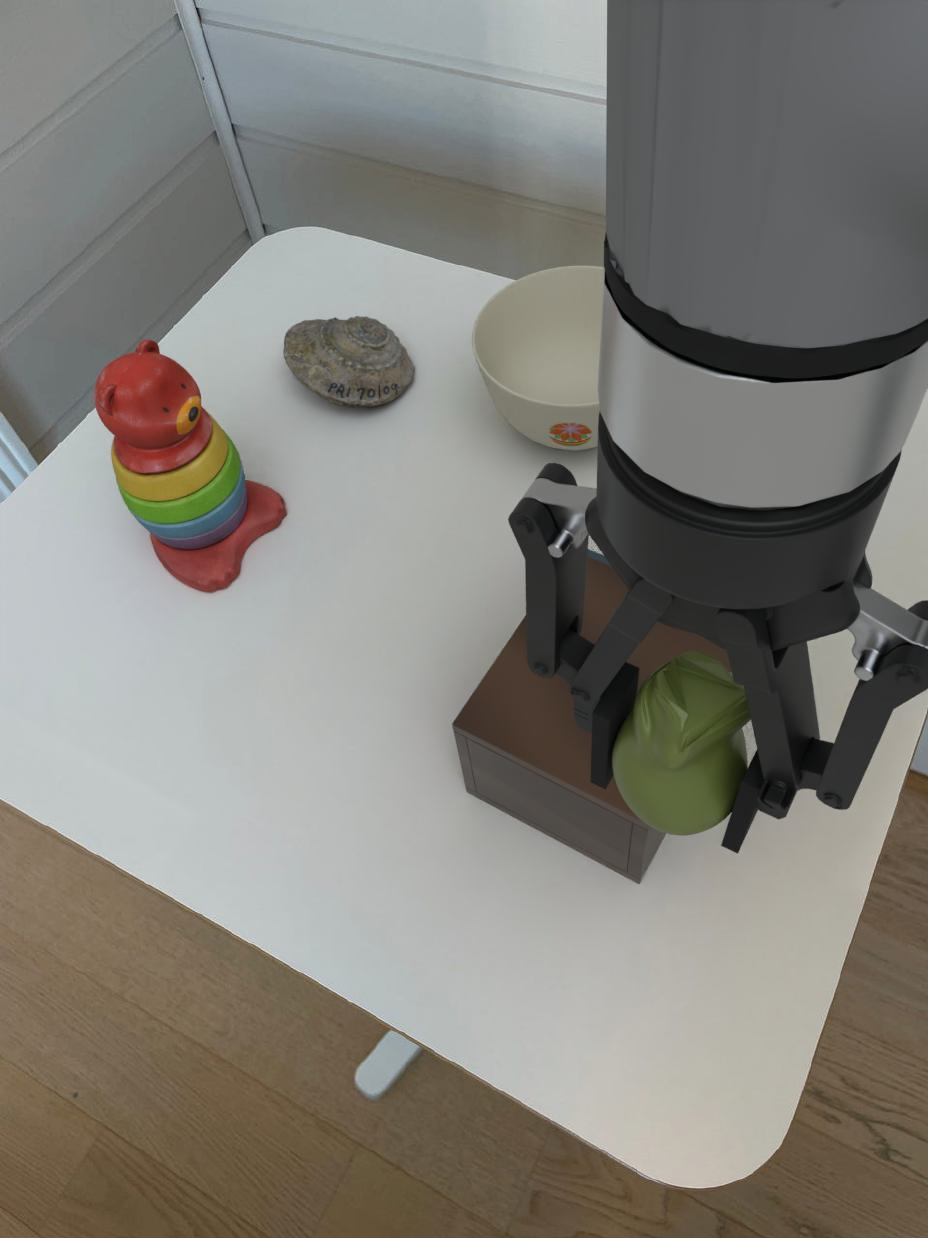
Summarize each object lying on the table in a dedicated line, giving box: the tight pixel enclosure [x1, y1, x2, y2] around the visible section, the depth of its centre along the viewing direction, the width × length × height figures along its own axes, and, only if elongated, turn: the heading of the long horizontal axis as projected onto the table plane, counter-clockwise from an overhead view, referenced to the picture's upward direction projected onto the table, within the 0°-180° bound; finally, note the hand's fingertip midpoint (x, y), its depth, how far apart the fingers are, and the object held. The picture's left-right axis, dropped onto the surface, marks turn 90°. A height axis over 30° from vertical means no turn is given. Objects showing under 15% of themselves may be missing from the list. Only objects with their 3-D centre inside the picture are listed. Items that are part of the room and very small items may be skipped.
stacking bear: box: [93, 339, 288, 593], centre depth 75 cm, size 11×10×18 cm
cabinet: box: [451, 556, 732, 885], centre depth 65 cm, size 15×13×10 cm
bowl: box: [471, 265, 604, 452], centre depth 81 cm, size 16×16×10 cm
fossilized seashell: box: [282, 315, 416, 408], centre depth 90 cm, size 11×10×7 cm
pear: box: [612, 651, 751, 837], centre depth 40 cm, size 6×5×10 cm
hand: (675, 791), depth 44 cm, fingers closed on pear, 5 cm apart
